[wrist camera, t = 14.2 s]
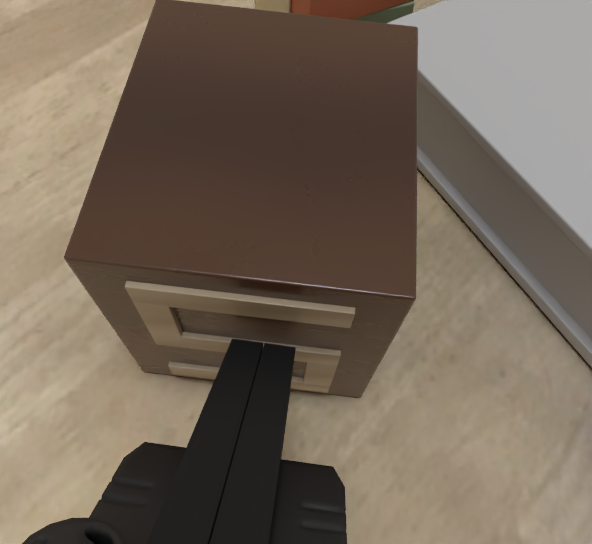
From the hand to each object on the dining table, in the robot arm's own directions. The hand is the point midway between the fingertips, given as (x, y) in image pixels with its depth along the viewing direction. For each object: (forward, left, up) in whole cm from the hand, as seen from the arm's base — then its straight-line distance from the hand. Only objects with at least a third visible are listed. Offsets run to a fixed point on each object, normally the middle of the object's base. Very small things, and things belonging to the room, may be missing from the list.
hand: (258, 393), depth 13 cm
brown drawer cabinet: (+3, -4, -4) cm, 6 cm away
